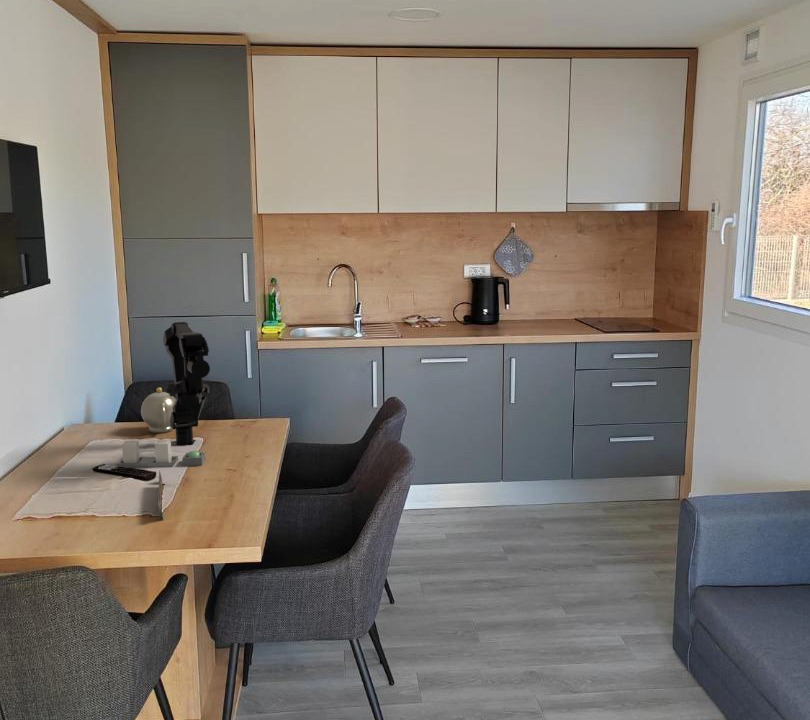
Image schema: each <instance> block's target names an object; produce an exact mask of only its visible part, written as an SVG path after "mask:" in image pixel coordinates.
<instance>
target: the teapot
mask: <svg viewBox="0 0 810 720" xmlns="http://www.w3.org/2000/svg"><path fill="white" fill-rule="evenodd" d="M155 391H156V392H152V393H151V394H149V395H148V396H146V398H145V399H144V400H143V402H142V404H141V406H140V407H141V408H140V414H141V417H142V419H143V422H144V423H145V424H146V425H148V431H149V432H150V433H152V434H153V433H154V434H163V433H165V434H166V433H170V432H172V431H173V430H174V429H172V428H171V426H170V418H171V413H172V412H173V409H172V408H173V405H174V403H175V401H176V397H174V396H170V395H169V393H167V391H163V389H162V387H157V388H156V390H155Z"/></svg>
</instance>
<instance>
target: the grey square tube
mask: <svg viewBox="0 0 810 720" xmlns="http://www.w3.org/2000/svg"><path fill="white" fill-rule="evenodd" d="M188 453H189V452H186V453H185V454H184V456H183V457H182V461H181V462H182V466H183V467H198V466H199V467H202V466H203V465H204V463H205V462H206V461H207V460H206V458H207V457H206V452H199V455H200V457H188Z"/></svg>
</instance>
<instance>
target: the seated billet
mask: <svg viewBox="0 0 810 720" xmlns="http://www.w3.org/2000/svg"><path fill="white" fill-rule="evenodd" d="M154 450H155V451H154V453H155V456H154V457H156V463H159V462H171V461H172V455H173V454H172V442H171V440H169V439H168V440H167V439H166V440H164V439H163V440H162V439H161V440H157V441H156V442H155V443H154Z"/></svg>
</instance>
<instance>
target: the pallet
mask: <svg viewBox="0 0 810 720" xmlns="http://www.w3.org/2000/svg"><path fill="white" fill-rule="evenodd" d="M121 458H122V457H121ZM121 458H120V459H121ZM120 459H119V461H118V462H117V463H116V468H117V467H125V468H124V469H143V468H144V469H145V468H146V469H147V468H148V469H149V468H150V469H151V468H155V469H156V468H157V469H158V468H173V467H174V466H175V465H176V464H177V462H178V460H179V456H177V455H176V456H174V455H173V456H172V461H171V462H159V463H156V457H155V456H154V457H152V456H140V461H139V463H123V458H122V459H121V460H120Z"/></svg>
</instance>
